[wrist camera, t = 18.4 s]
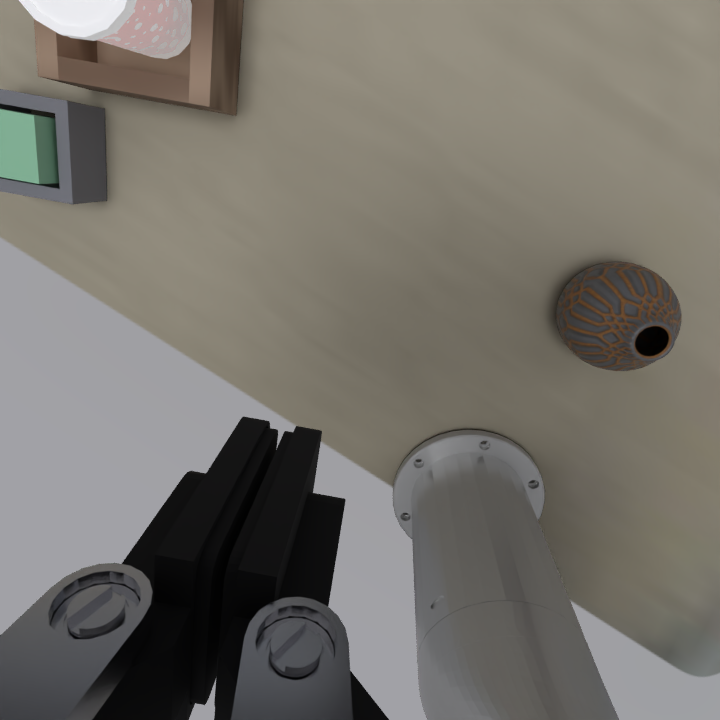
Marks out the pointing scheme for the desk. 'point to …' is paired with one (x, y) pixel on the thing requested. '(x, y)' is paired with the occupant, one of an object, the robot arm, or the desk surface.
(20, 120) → the button
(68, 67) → the open wooden cube shelf
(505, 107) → the desk surface
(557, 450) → the desk surface
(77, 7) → the beverage cup
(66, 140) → the button housing
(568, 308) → the vase
